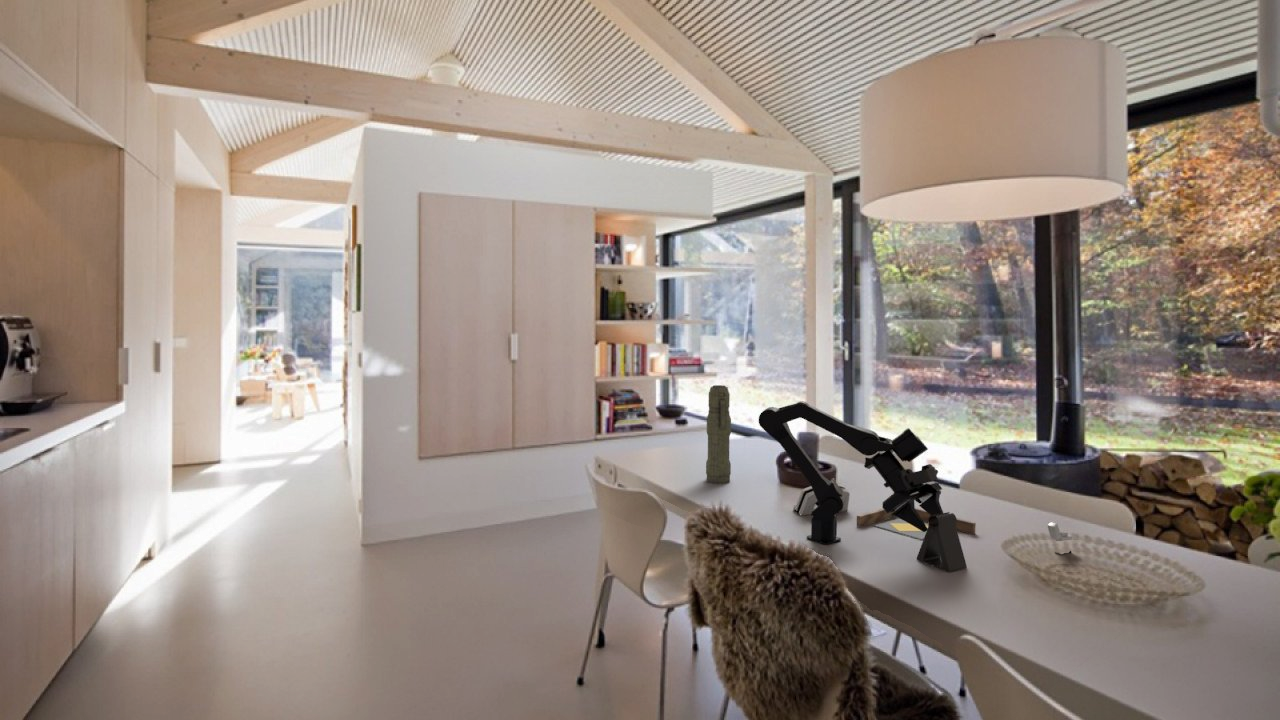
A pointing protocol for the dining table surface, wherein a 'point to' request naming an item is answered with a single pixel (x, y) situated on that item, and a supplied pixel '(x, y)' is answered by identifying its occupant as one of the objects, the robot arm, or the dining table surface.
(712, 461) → the green stone statue
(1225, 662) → the dining table surface
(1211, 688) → the dining table surface
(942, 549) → the dark grey a-frame stand
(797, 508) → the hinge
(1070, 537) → the grey l-shaped piece
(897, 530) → the mat
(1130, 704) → the dining table surface
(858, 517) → the corner walls
